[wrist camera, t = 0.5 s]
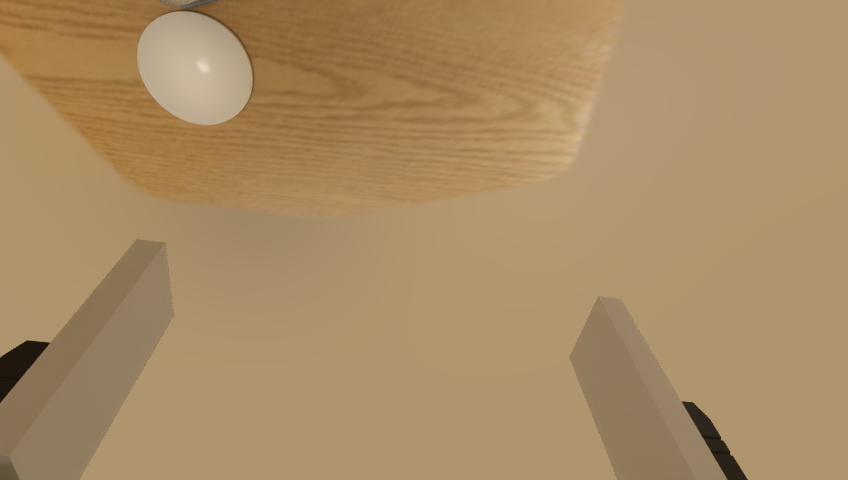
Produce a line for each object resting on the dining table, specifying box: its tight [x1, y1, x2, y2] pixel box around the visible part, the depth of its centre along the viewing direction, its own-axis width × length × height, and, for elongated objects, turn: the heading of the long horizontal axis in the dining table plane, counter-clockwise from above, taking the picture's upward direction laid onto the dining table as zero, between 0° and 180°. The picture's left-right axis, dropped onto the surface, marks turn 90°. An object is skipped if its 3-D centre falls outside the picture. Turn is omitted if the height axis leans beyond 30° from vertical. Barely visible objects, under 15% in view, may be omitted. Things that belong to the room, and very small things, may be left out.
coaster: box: [137, 11, 254, 125], centre depth 36 cm, size 8×8×1 cm
